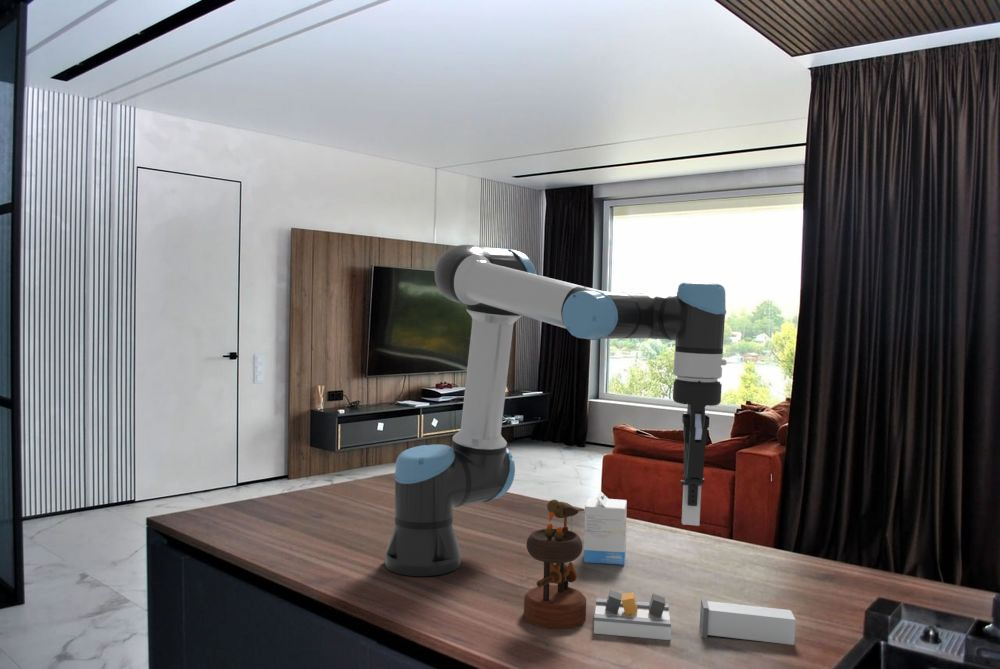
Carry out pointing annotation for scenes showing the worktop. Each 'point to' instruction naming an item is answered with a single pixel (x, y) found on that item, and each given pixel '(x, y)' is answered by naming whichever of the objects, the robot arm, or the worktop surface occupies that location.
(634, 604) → the paddle
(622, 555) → the ink box
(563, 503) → the music box
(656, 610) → the paddle
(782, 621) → the post
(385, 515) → the worktop surface
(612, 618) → the breaker board
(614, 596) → the paddle
